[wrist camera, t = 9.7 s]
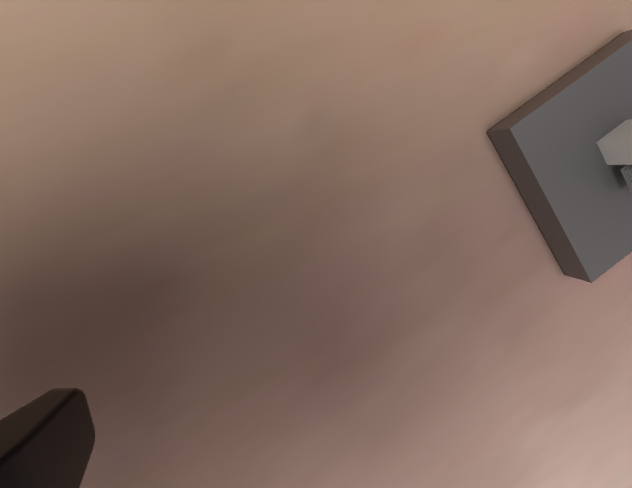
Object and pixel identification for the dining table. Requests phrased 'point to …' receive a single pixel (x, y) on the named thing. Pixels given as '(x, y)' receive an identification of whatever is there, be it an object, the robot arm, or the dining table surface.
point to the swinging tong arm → (627, 175)
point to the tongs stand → (577, 160)
